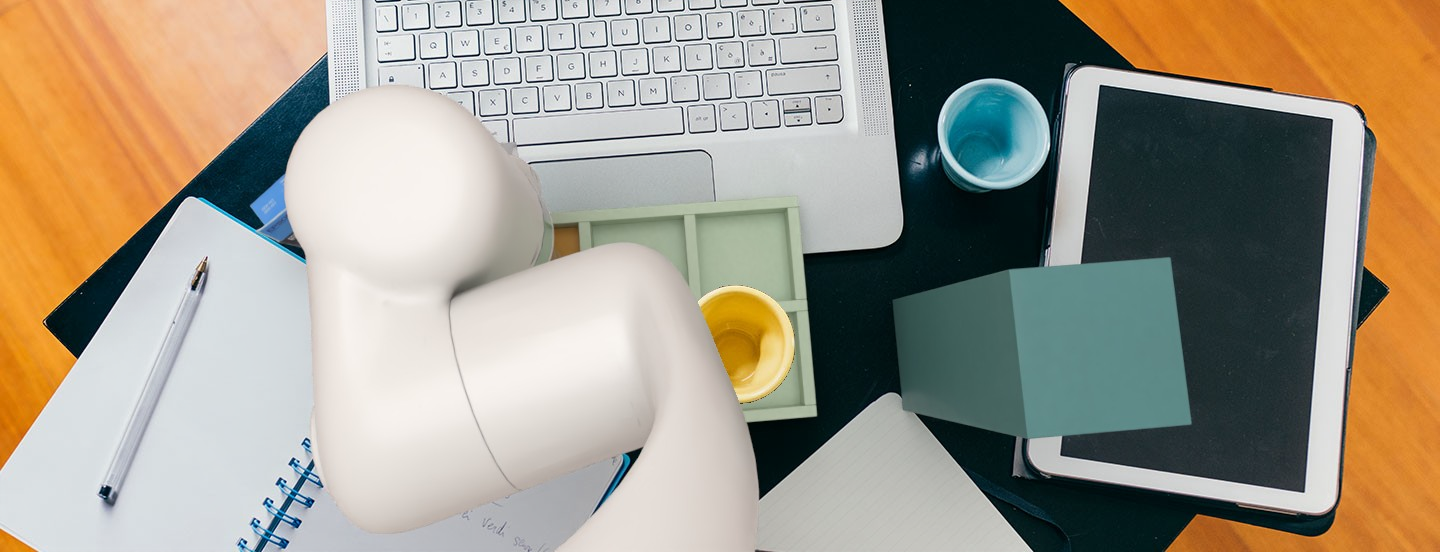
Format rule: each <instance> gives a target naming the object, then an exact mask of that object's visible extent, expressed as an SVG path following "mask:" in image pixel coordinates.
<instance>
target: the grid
mask: <svg viewBox="0 0 1440 552" xmlns="http://www.w3.org/2000/svg"><path fill="white" fill-rule="evenodd" d="M550 214H551V218H552V221H553V227H554V247H555V248H556V249H557V250H558V251H559V252H560V254H561V256H562V257H565V256H568V255H571V254H574V253H577V252H581V251H584V250H587V249H591V248H594V247H597V246H601V245H605V244H611V243H619V242H629V243H636V244H640V245H644V246H647V247H650V248H652V249H654V250H656V251H658V252H659V253H661V254H662V255H663V256H665V257H666V258H667V259H668V260H669V261H670V262H671V263H672V264H673V265H674V266H675V267H676V268H677V269H678V270H679V272H680V273H681V275H682V276H683V278H684V279H685V281H686V282H687V284H688V286H689V287H690V289H691V291H692V292H693V294H694V296H695V298H696V300H697V302H698V301H699V300H700V299H701V298H702V297H703V296H704V295H706V294H707V293H709V292H711V291H713V290H715V289H717V288H719V287H722V286H728V285H743V286H748V287H752V288H755V289H757V290H760V291H762V292H764V293H766V294H767V295H769V296H770V297H772V298H773V299H774V300H775V301H776V302H777V303H778V304H779V305H780V306H781V308H782V309H783V310H784V311H785V312H786V313H787V315H788V316H789V319H790V321H791V324H792V327H793V330H794V334H795V355H794V360H793V363H792V365H791V369H790V371H789V373H788V374H787V377H786V378H785V380H784V381H783V382H782V384H781V385H780V386H779V387H778V388H777V389H776V390H775V391H773V392H772V393H770V394H769V395H767V396H766V397H764V398H762V399H759V400H757V401H754V402H751V403H743V404H740V405H741V408H742V410H743V413H744V416H745V420H746V423H754V422H755V423H756V422H765V421H778V420H779V421H780V420H790V419H803V418H813V417H814V418H815V417H818V410H817V398H816V397H817V396H816V386H815V375H814V364H813V353H812V341H811V331H810V318H809V311H808V310H809V307H808V300H807V298H808V297H807V285H806V274H805V263H804V252H803V241H802V231H801V230H802V229H801V228H802V227H801V219H800V208H799V196H798V195H788V196H775V197H760V198H746V199H732V200H717V201H716V200H715V201H700V202H688V203H687V202H686V203H675V204H674V203H673V204H659V205H657V204H656V205H645V206H644V205H643V206H642V205H641V206H629V207H616V208H602V209H586V210H572V211H558V212H550Z"/></svg>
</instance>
